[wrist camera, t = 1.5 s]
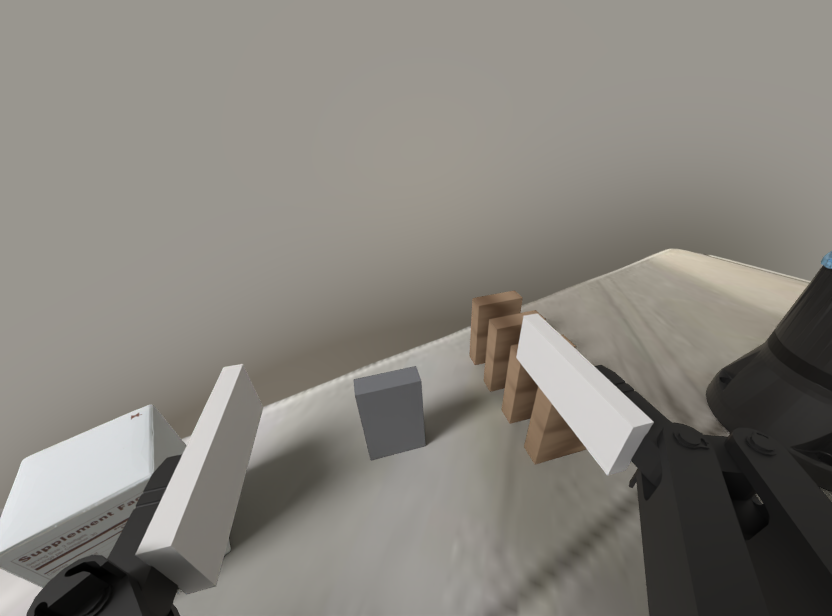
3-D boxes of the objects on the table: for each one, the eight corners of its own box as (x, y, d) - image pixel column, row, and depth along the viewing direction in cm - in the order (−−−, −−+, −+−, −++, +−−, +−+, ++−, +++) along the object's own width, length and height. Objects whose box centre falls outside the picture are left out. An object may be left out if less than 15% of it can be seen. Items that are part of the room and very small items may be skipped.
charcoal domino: (420, 430, 34) (416, 366, 29) (425, 446, 32) (421, 380, 27) (368, 443, 33) (353, 379, 28) (370, 460, 31) (355, 395, 26)
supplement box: (128, 536, 27) (19, 455, 20) (220, 483, 30) (154, 399, 24) (122, 631, 22) (-27, 565, 15) (233, 553, 25) (154, 471, 18)
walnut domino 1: (506, 348, 45) (514, 290, 40) (513, 356, 44) (522, 297, 38) (469, 356, 44) (472, 298, 39) (475, 365, 43) (478, 305, 37)
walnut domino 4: (573, 432, 33) (598, 365, 27) (586, 449, 31) (615, 381, 26) (524, 446, 32) (539, 380, 26) (534, 464, 30) (553, 397, 25)
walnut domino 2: (524, 371, 41) (535, 310, 36) (532, 381, 39) (545, 319, 34) (483, 380, 40) (489, 319, 35) (490, 391, 38) (497, 329, 33)
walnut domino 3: (546, 398, 37) (562, 334, 32) (556, 411, 35) (575, 346, 30) (501, 409, 36) (511, 345, 31) (509, 423, 34) (521, 358, 29)
